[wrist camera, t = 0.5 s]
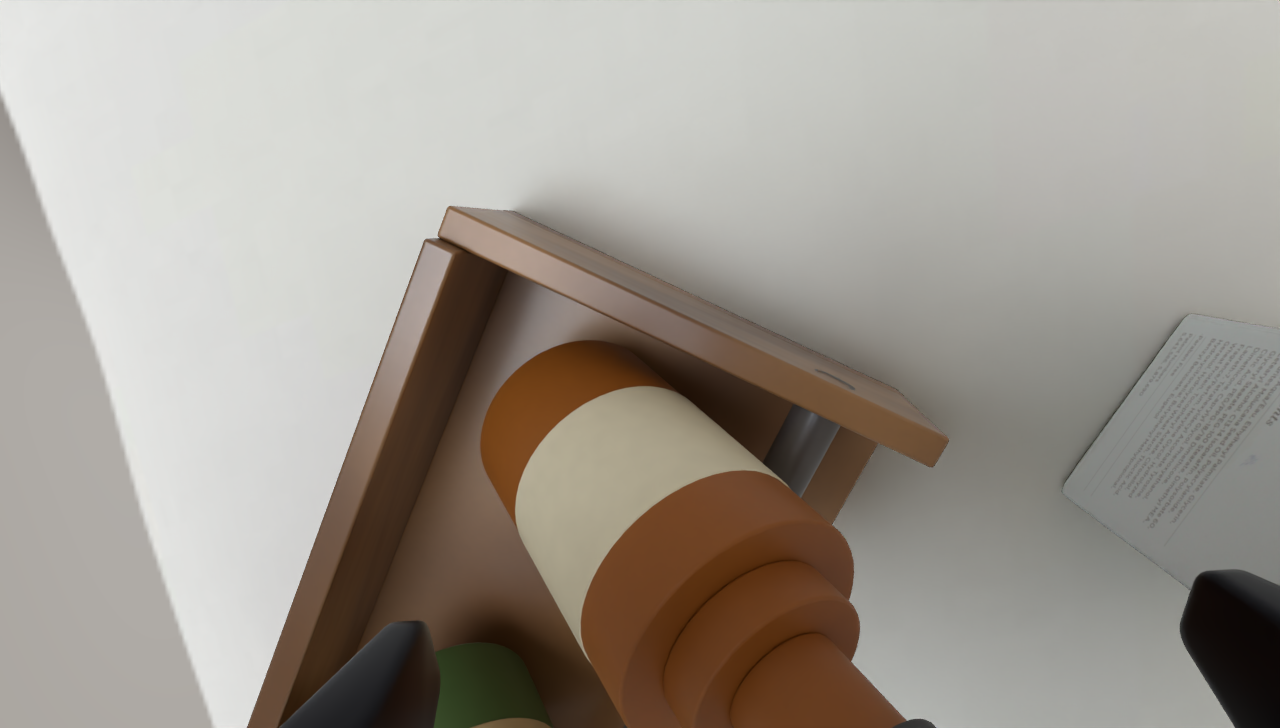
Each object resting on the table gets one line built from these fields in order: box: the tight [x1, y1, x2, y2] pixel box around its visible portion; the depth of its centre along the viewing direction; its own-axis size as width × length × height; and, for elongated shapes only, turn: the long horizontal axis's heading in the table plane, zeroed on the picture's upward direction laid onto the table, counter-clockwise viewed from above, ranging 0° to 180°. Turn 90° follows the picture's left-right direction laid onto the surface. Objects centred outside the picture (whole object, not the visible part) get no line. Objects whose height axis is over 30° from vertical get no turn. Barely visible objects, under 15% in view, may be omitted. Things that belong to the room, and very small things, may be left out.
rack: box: [247, 206, 949, 728], centre depth 19 cm, size 12×19×5 cm, turn 155°
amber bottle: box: [480, 340, 936, 728], centre depth 14 cm, size 10×5×12 cm, turn 65°
